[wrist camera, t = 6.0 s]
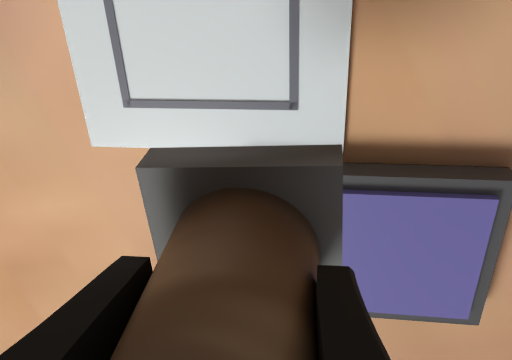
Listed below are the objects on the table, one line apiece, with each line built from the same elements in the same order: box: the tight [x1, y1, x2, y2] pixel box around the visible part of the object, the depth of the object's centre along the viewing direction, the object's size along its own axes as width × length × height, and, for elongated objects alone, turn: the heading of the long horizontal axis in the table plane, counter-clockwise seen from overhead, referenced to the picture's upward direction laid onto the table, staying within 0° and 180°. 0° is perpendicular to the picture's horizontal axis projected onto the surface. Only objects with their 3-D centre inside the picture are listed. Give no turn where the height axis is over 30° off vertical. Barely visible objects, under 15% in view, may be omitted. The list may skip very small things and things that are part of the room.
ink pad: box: [342, 163, 512, 325], centre depth 19 cm, size 10×7×1 cm
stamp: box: [110, 144, 343, 360], centre depth 9 cm, size 4×4×6 cm
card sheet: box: [57, 0, 353, 153], centre depth 16 cm, size 10×10×1 cm
